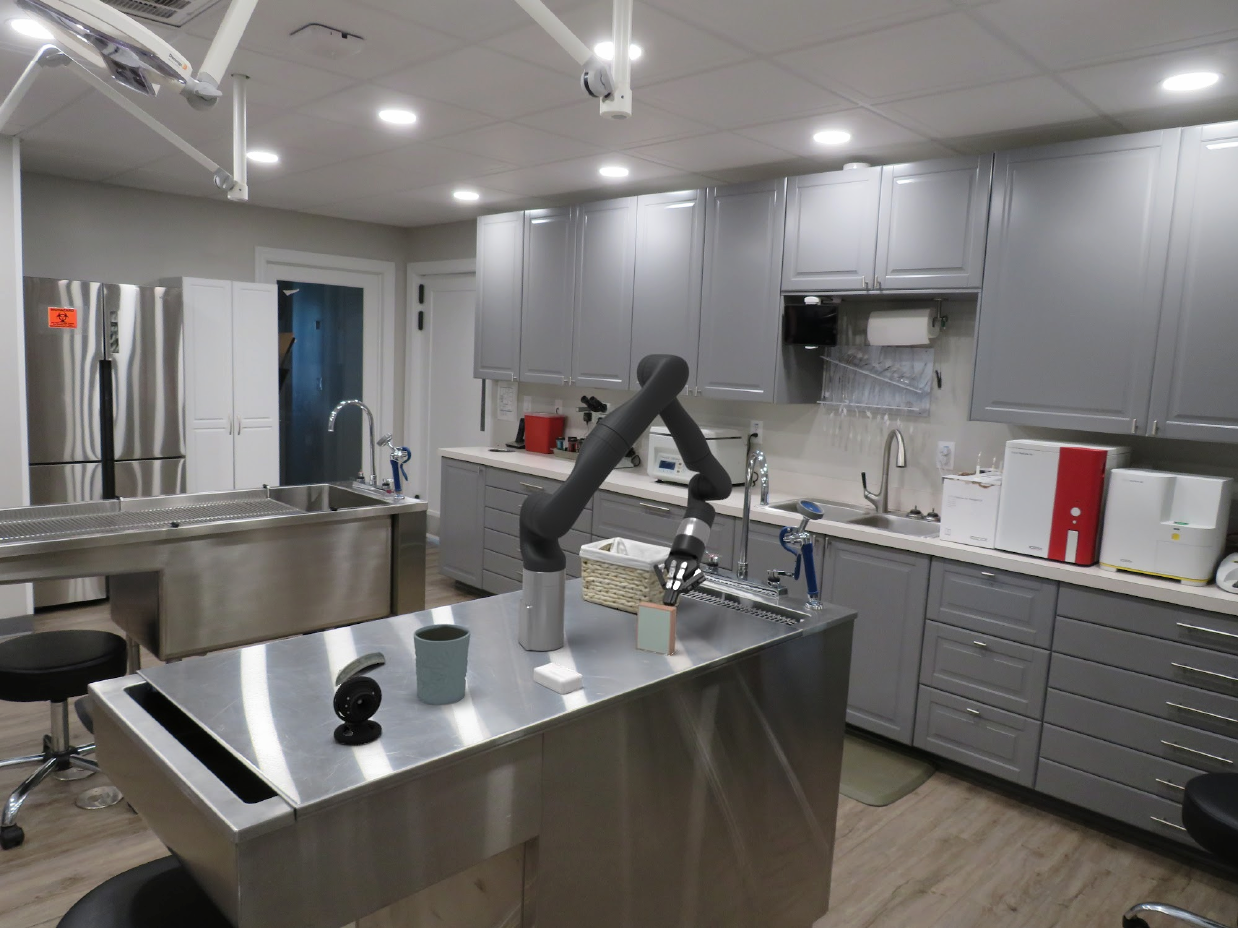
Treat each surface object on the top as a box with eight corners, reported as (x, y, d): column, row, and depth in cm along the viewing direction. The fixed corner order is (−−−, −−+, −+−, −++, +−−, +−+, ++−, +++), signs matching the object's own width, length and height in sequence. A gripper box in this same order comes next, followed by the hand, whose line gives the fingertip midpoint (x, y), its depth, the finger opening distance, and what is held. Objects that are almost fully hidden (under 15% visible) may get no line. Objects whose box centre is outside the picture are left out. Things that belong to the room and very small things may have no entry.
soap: (584, 689, 158) (584, 673, 158) (562, 696, 154) (562, 681, 154) (553, 675, 165) (553, 660, 164) (531, 681, 161) (532, 667, 160)
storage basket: (575, 600, 215) (576, 544, 213) (614, 588, 228) (616, 535, 226) (648, 620, 200) (651, 561, 199) (686, 606, 213) (689, 550, 211)
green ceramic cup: (414, 708, 146) (414, 642, 145) (411, 686, 156) (412, 624, 154) (472, 703, 149) (473, 639, 148) (466, 682, 159) (467, 621, 157)
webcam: (341, 750, 130) (340, 689, 129) (326, 732, 136) (326, 673, 135) (389, 738, 135) (389, 679, 133) (373, 721, 141) (373, 664, 139)
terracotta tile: (640, 645, 183) (642, 601, 181) (674, 652, 179) (676, 607, 178) (635, 648, 180) (637, 604, 179) (669, 655, 177) (671, 610, 176)
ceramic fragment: (337, 688, 155) (337, 668, 154) (317, 682, 157) (317, 663, 156) (389, 666, 167) (389, 647, 167) (369, 661, 169) (369, 642, 169)
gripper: (660, 529, 193) (635, 592, 184) (713, 536, 188) (691, 602, 178) (668, 547, 199) (645, 609, 190) (720, 554, 193) (699, 619, 184)
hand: (667, 606), depth 184 cm, fingers closed
